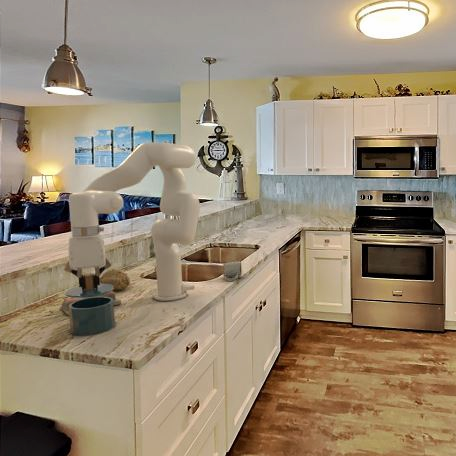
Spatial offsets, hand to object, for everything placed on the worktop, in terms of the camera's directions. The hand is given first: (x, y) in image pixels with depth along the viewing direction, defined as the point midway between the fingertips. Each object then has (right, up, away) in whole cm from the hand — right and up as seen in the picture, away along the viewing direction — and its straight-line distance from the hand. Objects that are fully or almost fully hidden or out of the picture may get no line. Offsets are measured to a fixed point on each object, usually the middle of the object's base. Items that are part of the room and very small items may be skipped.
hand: (89, 287), depth 132 cm
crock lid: (0, -1, 0) cm, 1 cm away
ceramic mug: (+33, -5, +62) cm, 70 cm away
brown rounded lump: (-15, -7, +48) cm, 51 cm away
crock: (0, -13, +2) cm, 14 cm away
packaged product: (-11, -11, +22) cm, 27 cm away
